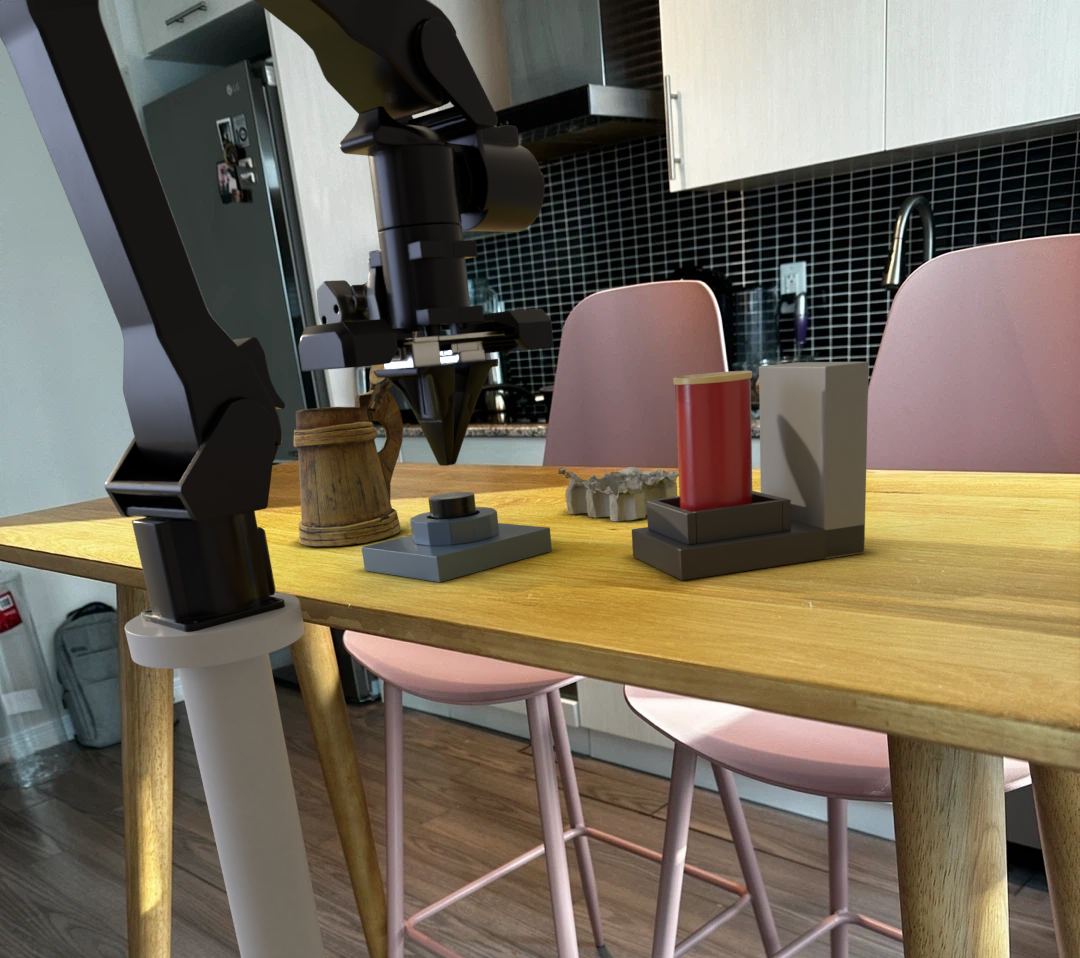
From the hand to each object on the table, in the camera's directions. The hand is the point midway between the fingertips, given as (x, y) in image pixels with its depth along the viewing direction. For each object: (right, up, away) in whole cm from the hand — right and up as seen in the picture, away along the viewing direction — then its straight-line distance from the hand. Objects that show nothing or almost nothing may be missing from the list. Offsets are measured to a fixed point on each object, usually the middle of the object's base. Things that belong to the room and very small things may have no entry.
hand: (447, 465), depth 75 cm
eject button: (0, -4, +1) cm, 4 cm away
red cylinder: (+19, -6, -6) cm, 20 cm away
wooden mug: (-8, -2, +18) cm, 20 cm away
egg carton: (+14, 0, +17) cm, 22 cm away
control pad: (+1, -7, +3) cm, 7 cm away
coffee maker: (+21, -7, -4) cm, 23 cm away
